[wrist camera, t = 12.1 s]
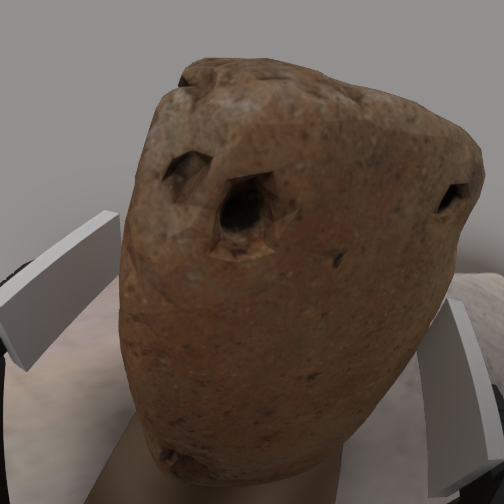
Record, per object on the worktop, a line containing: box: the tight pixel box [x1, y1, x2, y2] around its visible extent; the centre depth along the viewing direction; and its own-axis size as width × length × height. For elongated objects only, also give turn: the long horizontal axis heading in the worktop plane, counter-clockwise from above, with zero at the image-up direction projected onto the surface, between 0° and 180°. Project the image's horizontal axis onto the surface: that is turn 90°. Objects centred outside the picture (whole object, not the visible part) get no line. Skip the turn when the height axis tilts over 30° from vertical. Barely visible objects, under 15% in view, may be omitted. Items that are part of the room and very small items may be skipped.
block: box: [119, 58, 485, 487], centre depth 12 cm, size 11×8×20 cm
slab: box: [84, 410, 343, 504], centre depth 18 cm, size 14×18×5 cm
